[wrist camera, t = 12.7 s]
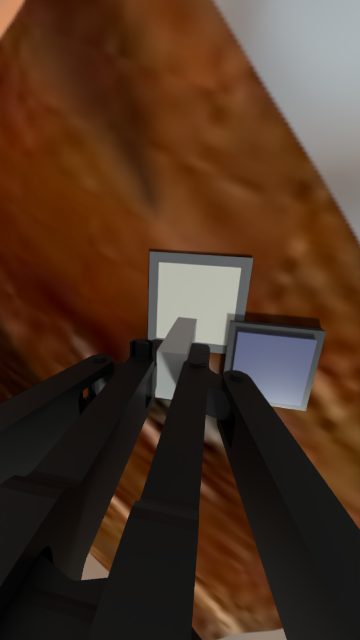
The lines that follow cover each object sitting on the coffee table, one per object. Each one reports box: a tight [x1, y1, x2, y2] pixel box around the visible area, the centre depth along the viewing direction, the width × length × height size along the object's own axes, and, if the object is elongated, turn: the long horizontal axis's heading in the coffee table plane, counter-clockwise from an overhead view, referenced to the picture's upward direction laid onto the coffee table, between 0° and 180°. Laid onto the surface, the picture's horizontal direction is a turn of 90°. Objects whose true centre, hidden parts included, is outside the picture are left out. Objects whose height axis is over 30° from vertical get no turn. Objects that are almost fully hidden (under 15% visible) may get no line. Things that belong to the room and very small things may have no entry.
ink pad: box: [223, 320, 326, 411], centre depth 29 cm, size 11×11×2 cm
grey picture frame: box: [148, 252, 253, 354], centre depth 29 cm, size 12×12×1 cm
